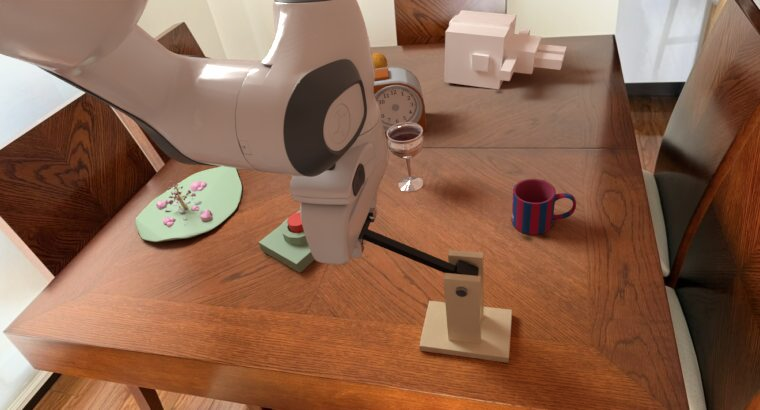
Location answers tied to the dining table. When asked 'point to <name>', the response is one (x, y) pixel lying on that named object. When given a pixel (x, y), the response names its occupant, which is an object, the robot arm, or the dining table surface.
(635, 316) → the dining table surface
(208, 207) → the plant
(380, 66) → the potato
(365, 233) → the lever
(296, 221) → the button
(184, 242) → the dining table surface
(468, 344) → the bracket
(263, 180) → the dining table surface
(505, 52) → the white voxel figure
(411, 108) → the alarm clock
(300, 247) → the button box
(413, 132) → the wineglass
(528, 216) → the mug
